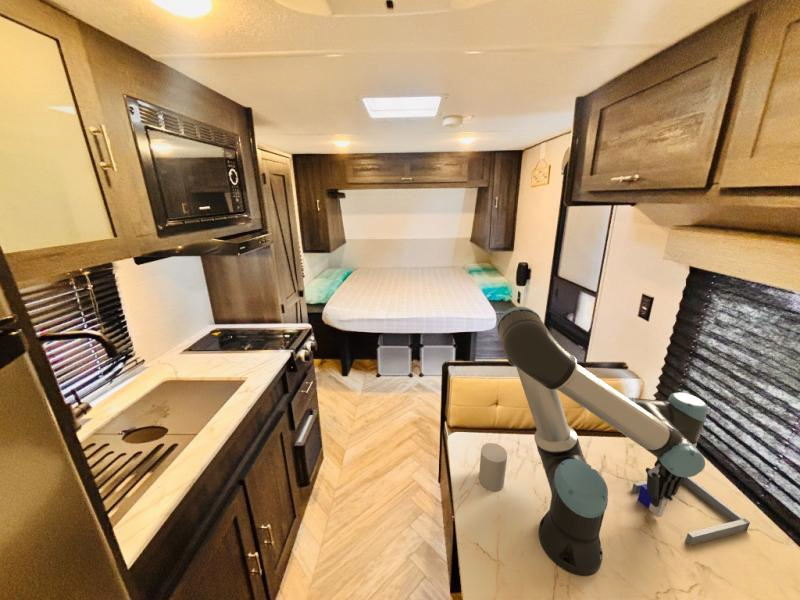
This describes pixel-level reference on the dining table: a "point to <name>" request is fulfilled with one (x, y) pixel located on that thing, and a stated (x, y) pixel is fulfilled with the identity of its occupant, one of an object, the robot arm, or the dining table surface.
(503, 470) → the gray solid cylinder
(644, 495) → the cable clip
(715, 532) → the gray u-shaped frame
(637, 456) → the dining table surface
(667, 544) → the dining table surface
